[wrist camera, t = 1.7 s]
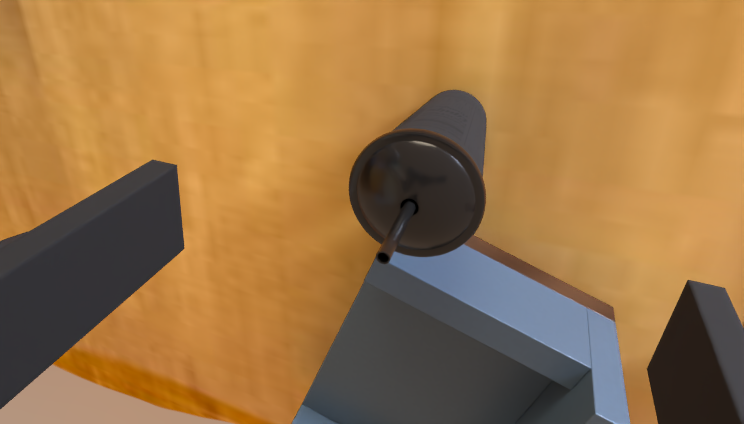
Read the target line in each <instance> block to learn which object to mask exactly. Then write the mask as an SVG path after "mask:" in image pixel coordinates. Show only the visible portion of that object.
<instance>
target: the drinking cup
mask: <svg viewBox="0 0 744 424" xmlns="http://www.w3.org/2000/svg"><path fill="white" fill-rule="evenodd" d="M485 135H486V114H485V111H484V109H483V107H482V105H481V104H480V102H479V101H478V100H477V99H476V98H475V97H474V96H472V95H471V94H469V93H466V92H464V91H459V90H448V91H444V92H441V93H439V94H437V95H436V96H435V97H433V98H432V99H431V100H430V101H428V102H427V103H426V104H425V105H423V106H422V107H421V108H420V109H419V110H417V111H416V112H415V113H414V114H412V115H411V116H410V117H409V118H407V119H406V120H405V121H404V122H403V123H401V124H400V125H399V126H398V127H396V128H395V129H394V130H393V131H391V132H388V133H386V134H383V135H382V136H380V137H378V138H376V139H375V140H373V141H372V142H371V143H370V144H368V145H367V146H366V147H365V148H364V149H363V151H362V152H361V153H360V154H359V156H358V157H357V159H356V161H355V163H354V165H353V167H352V170H351V174H350V178H349V196H350V201H351V205H352V208H353V211H354V213H355V215H356V217H357V219H358V221H359V222H360V224H361V225H362V227H363V228H364V229H365V230H366V232H367V233H368V234H369V235H370V236H371V237H372V238H374V239H375V240H376V241H377V242H379V243H380V244H382V245H381V247H380V249H379V251H378V252H377V254H376V259H377V261H378V262H379V263H381V264H387V263H389V262H390V260H391V258H392V256H393V254H394V252H398V253H400V254H404V255H408V256H414V257H433V256H439V255H443V254H446V253H448V252H451V251H453V250H455V249H457V248H459V247H460V246H462V245H463V244H464V243H466V242H467V241H468V240H469V239H470V238H471V237H472V236H473V234H474V233H475V232H476V230H477V229H478V227H479V225H480V223H481V220H482V218H483V215H484V211H485V205H486V190H485V184H484V181H483V165H484V150H485Z"/></svg>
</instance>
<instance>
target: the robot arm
mask: <svg viewBox="0 0 744 424" xmlns="http://www.w3.org/2000/svg"><path fill="white" fill-rule="evenodd" d="M183 249H184V239H183V228H182V217H181V206H180V195H179V184H178V174H177V165H174V164H170V163H165V162H161V161H156V160H151V161H149V162H148V163H146V164H144V165H143V166H141V167H139V168H137V169H136V170H134V171H132V172H131V173H129V174H127V175H125V176H124V177H122V178H120V179H119V180H117V181H115V182H113V183H112V184H110V185H108V186H107V187H105V188H103V189H101V190H100V191H98V192H96V193H94V194H93V195H91V196H89V197H88V198H86V199H84V200H82V201H81V202H79V203H77V204H76V205H74V206H72V207H70V208H69V209H67V210H65V211H64V212H62V213H60V214H58V215H57V216H55V217H53V218H52V219H50V220H48V221H46V222H45V223H43V224H41V225H40V226H38V227H36V228H34V229H33V230H31V231H29V232H25V233H22V234H19V235H16V236H13V237H10V238H7V239H4V240H2V241H0V409H1V408H2V407H4V406H5V405H6V404H7V403H8V402H9V401H10V400H12V399H13V398H14V397H15V396H16V395H17V394H18V393H20V392H21V391H22V390H23V389H24V388H25V387H26V386H28V385H29V384H30V383H31V382H32V381H33V380H34V379H36V378H37V377H38V376H39V375H40V374H41V373H43V371H45V370H46V369H47V368H48V367H49V366H51V365H52V364H53V363H54V362H55V361H56V360H57V359H59V358H60V357H61V356H62V355H63V354H64V353H65V352H67V351H68V350H69V349H70V348H71V347H72V346H73V345H75V344H76V343H77V342H78V341H79V340H80V339H81V338H83V337H84V336H85V335H86V334H87V333H88V332H90V331H91V330H92V329H93V328H94V327H95V326H96V325H98V324H99V323H100V322H101V321H102V320H103V319H104V318H106V317H107V316H108V315H109V314H110V313H111V312H112V311H114V310H115V309H116V308H117V307H118V306H119V305H120V304H122V303H123V302H124V301H125V300H126V299H127V298H128V297H130V296H131V295H132V294H133V293H134V292H135V291H136V290H138V289H139V288H140V287H141V286H142V285H143V284H145V283H146V282H147V281H148V280H149V279H150V278H151V277H153V276H154V275H155V274H156V273H157V272H158V271H159V270H161V269H162V268H163V267H164V266H165V265H166V264H167V263H169V262H170V261H171V260H172V259H173V258H174V257H175V256H177V255H178V254H179V253H180V252H181V251H182V250H183ZM647 371H648V376H649V381H650V386H651V391H652V395H653V400H654V405H655V410H656V415H657V420H658V424H744V328H743V326H742V324H741V322H740V320H739V318H738V315H737V313H736V311H735V309H734V307H733V305H732V303H731V300H730V298H729V296H728V294H727V292H726V290H725V288H722V287H718V286H713V285H709V284H704V283H700V282H695V281H691V280H688V281H687V283H686V285H685V287H684V289H683V292H682V294H681V296H680V298H679V300H678V302H677V305H676V307H675V309H674V311H673V313H672V315H671V318H670V320H669V322H668V324H667V326H666V329H665V331H664V333H663V335H662V337H661V339H660V342H659V344H658V346H657V348H656V350H655V352H654V355H653V357H652V359H651V361H650V363H649V366H648V368H647Z"/></svg>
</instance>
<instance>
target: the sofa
mask: <svg viewBox="0 0 744 424" xmlns="http://www.w3.org/2000/svg"><path fill="white" fill-rule="evenodd" d="M292 424H630V418H629V411H628V405H627V398H626V391H625V385H624V378H623V371H622V364H621V358H620V351H619V344H618V338H617V331H616V324H615V316H614V310H613V307H611V306H609V305H607V304H605V303H603V302H602V301H600V300H598V299H596V298H594V297H592V296H590V295H588V294H586V293H584V292H582V291H580V290H578V289H576V288H574V287H572V286H570V285H568V284H567V283H565V282H563V281H561V280H559V279H557V278H555V277H553V276H551V275H549V274H547V273H545V272H543V271H541V270H539V269H537V268H535V267H534V266H532V265H530V264H528V263H526V262H524V261H522V260H520V259H518V258H516V257H514V256H512V255H510V254H508V253H506V252H504V251H502V250H500V249H499V248H497V247H495V246H493V245H491V244H489V243H487V242H485V241H483V240H481V239H479V238H477V237H475V236H472V237H471V238H470V239H469V240H468V241H467V242H466V243H464V244H463V245H462V246H460V247H459V248H457V249H455V250H453V251H451V252H448V253H446V254H443V255H439V256H433V257H414V256H408V255H404V254H400V253H398V252H394V254H393V256H392V258H391V260H390V262H389V263H387V264H381V263H379V262H378V261H377V259H376V258H375V260H374V262H373V264H372V266H371V268H370V270H369V271H368V273H367V275H366V277H365V279H364V283H363V285H362V287H361V289H360V291H359V293H358V295H357V297H356V298H355V300H354V302H353V304H352V306H351V308H350V310H349V312H348V314H347V316H346V318H345V320H344V322H343V324H342V326H341V328H340V330H339V332H338V334H337V336H336V338H335V340H334V342H333V344H332V346H331V348H330V350H329V352H328V354H327V356H326V358H325V360H324V361H323V363H322V365H321V367H320V369H319V371H318V373H317V375H316V377H315V379H314V381H313V383H312V385H311V387H310V389H309V391H308V393H307V395H306V397H305V399H304V401H303V403H302V405H301V407H300V409H299V410H298V412H297V414H296V416H295V418H294V420H293V422H292Z"/></svg>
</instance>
